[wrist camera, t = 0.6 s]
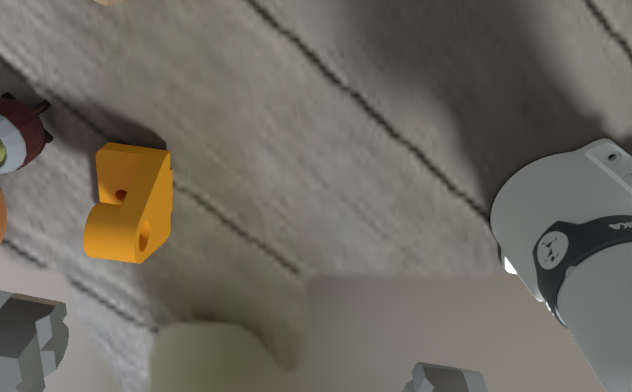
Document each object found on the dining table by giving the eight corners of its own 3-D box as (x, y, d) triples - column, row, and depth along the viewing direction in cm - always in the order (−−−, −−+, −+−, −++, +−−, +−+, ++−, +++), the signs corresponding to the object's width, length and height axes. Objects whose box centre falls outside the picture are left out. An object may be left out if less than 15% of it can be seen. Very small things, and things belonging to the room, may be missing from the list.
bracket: (105, 138, 50) (47, 191, 40) (172, 147, 50) (131, 203, 40) (112, 219, 55) (62, 286, 45) (172, 228, 56) (136, 295, 45)
